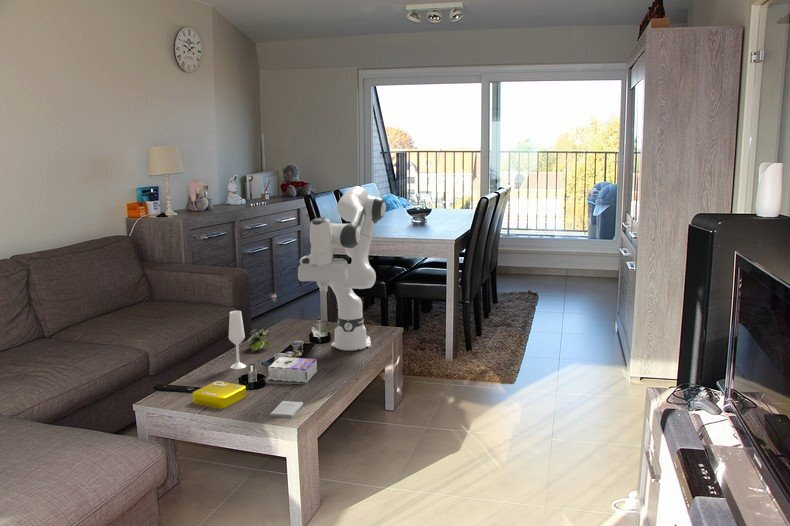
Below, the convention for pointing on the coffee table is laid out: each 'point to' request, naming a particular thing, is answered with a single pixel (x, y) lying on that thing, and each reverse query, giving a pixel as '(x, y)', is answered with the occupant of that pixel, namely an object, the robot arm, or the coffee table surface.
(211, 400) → the element tile
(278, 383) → the mat
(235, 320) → the champagne flute
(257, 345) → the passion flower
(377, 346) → the coffee table surface
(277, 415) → the external hard drive
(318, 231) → the robot arm
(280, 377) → the candy box
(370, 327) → the coffee table surface
